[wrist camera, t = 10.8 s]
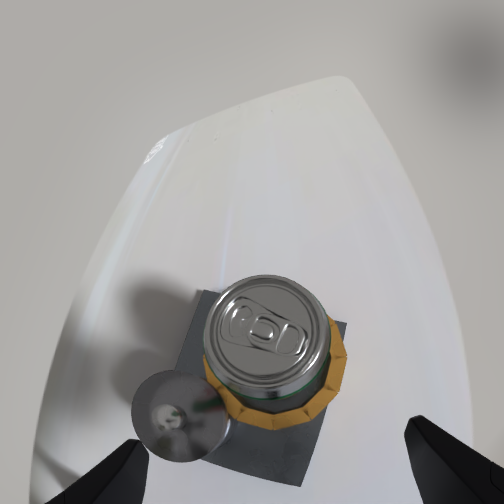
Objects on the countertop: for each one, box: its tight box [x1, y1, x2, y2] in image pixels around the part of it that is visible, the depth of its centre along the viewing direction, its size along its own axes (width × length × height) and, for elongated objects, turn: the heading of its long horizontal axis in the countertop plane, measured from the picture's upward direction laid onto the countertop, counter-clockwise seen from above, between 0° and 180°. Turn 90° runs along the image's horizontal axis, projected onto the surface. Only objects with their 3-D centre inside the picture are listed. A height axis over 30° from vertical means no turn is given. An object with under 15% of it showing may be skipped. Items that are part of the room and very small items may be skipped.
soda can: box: [203, 275, 331, 400], centre depth 15 cm, size 5×5×12 cm
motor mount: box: [131, 290, 347, 487], centre depth 17 cm, size 14×12×8 cm
